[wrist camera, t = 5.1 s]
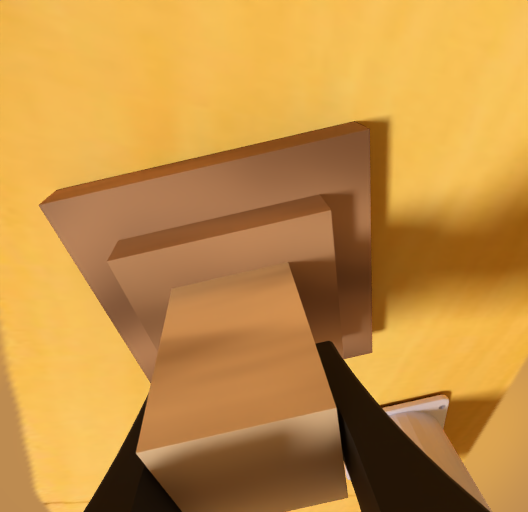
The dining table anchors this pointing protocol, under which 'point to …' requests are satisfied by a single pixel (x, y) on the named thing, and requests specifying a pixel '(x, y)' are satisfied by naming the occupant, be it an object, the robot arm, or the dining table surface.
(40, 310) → the dining table surface
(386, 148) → the dining table surface
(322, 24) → the dining table surface
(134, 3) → the dining table surface
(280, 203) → the walnut pedestal
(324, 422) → the oak block
